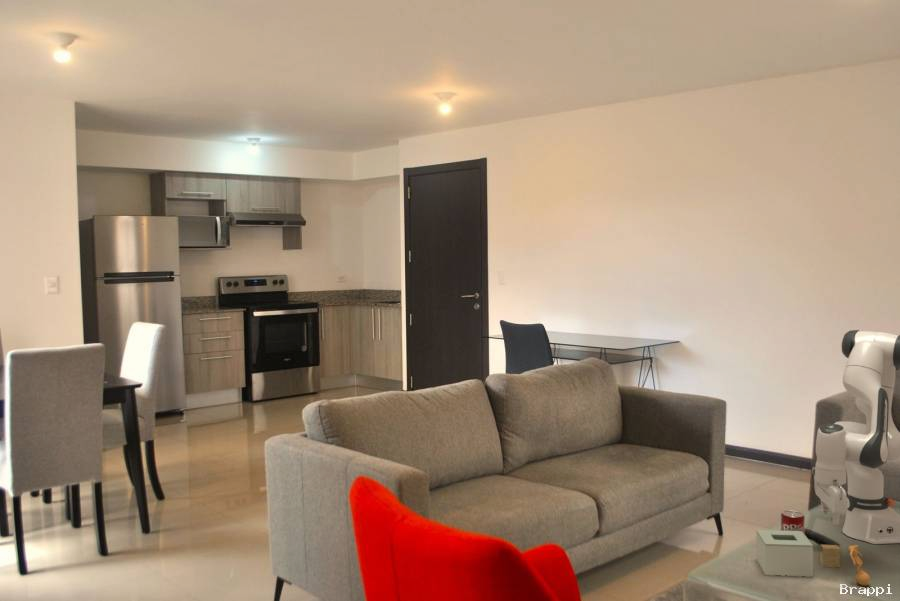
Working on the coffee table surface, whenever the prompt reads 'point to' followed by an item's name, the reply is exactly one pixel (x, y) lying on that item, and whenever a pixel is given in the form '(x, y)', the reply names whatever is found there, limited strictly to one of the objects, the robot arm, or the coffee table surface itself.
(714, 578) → the coffee table surface
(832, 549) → the tan rectangular block
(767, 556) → the coin box
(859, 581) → the figurine
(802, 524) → the soda can
